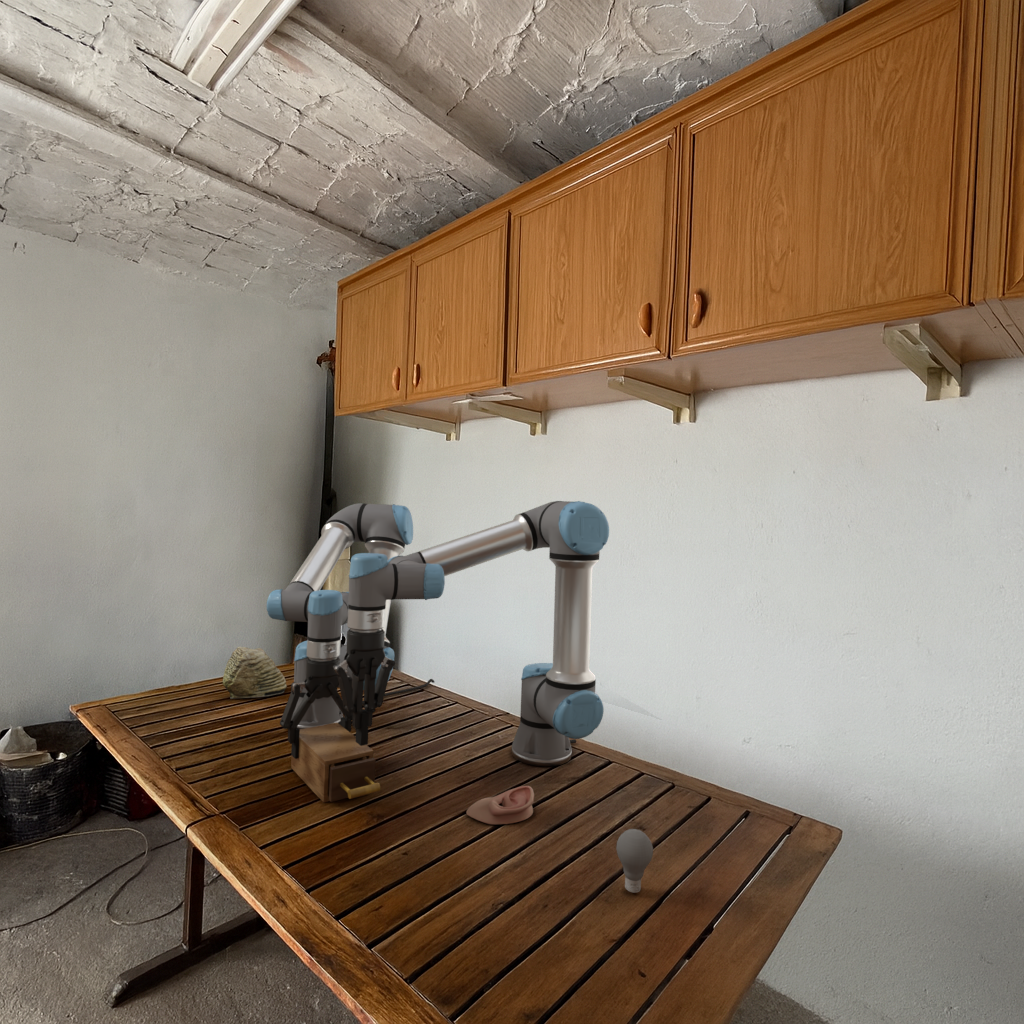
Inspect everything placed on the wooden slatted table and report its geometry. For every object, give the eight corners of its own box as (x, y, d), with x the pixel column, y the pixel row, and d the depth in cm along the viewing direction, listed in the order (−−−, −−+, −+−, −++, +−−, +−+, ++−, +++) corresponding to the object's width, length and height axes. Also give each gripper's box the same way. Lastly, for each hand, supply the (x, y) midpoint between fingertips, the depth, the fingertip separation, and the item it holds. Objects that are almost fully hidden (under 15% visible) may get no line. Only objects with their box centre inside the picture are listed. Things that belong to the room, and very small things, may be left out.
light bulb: (610, 879, 108) (613, 822, 108) (644, 879, 109) (647, 822, 109) (619, 902, 102) (622, 840, 102) (655, 901, 103) (658, 840, 103)
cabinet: (371, 789, 138) (373, 750, 138) (323, 802, 131) (325, 761, 131) (335, 757, 154) (337, 722, 154) (290, 767, 147) (292, 730, 147)
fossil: (218, 695, 195) (220, 647, 195) (278, 685, 208) (279, 640, 207) (228, 703, 189) (230, 653, 188) (289, 692, 201) (290, 645, 201)
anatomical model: (462, 800, 126) (477, 776, 137) (461, 820, 126) (476, 794, 137) (528, 810, 123) (537, 784, 135) (527, 830, 123) (536, 803, 135)
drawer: (387, 801, 131) (388, 769, 131) (342, 814, 125) (343, 780, 125) (339, 759, 151) (340, 731, 150) (299, 768, 145) (300, 739, 144)
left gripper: (277, 667, 137) (273, 768, 138) (376, 655, 152) (372, 746, 152) (267, 659, 143) (263, 756, 144) (363, 648, 157) (359, 736, 158)
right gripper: (343, 635, 123) (338, 756, 123) (403, 629, 131) (398, 742, 131) (328, 628, 129) (323, 743, 129) (386, 622, 137) (382, 731, 137)
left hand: (319, 751), depth 148 cm, fingers closed on cabinet, 11 cm apart
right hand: (361, 742), depth 130 cm, fingers closed
